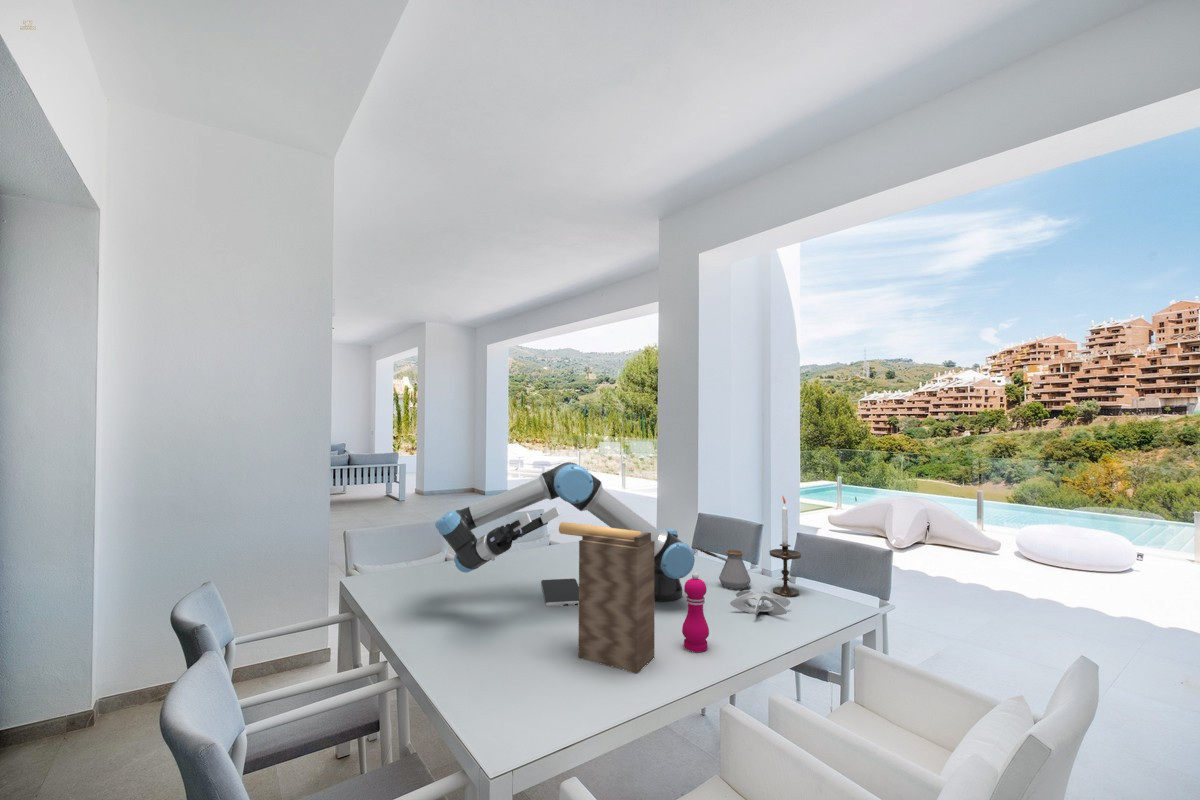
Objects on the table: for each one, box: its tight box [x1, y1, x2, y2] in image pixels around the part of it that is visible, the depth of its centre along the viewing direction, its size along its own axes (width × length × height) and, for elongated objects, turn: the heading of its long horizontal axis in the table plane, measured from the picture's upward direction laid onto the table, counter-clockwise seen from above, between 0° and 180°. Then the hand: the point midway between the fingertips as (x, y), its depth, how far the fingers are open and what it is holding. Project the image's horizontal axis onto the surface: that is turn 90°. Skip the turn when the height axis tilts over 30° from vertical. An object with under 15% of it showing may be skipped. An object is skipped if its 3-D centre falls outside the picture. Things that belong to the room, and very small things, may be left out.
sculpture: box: [729, 590, 791, 617], centre depth 171 cm, size 18×20×6 cm
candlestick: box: [769, 496, 802, 598], centre depth 191 cm, size 11×11×35 cm
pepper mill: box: [681, 572, 710, 653], centre depth 144 cm, size 7×7×20 cm
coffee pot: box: [693, 547, 752, 591], centre depth 198 cm, size 21×12×15 cm, turn 98°
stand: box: [578, 532, 655, 674], centre depth 138 cm, size 17×10×32 cm, turn 59°
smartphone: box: [540, 577, 579, 607], centre depth 190 cm, size 13×27×2 cm, turn 10°
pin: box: [558, 521, 641, 540], centre depth 141 cm, size 24×3×3 cm, turn 59°
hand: (544, 513), depth 152 cm, fingers open, 13 cm apart
